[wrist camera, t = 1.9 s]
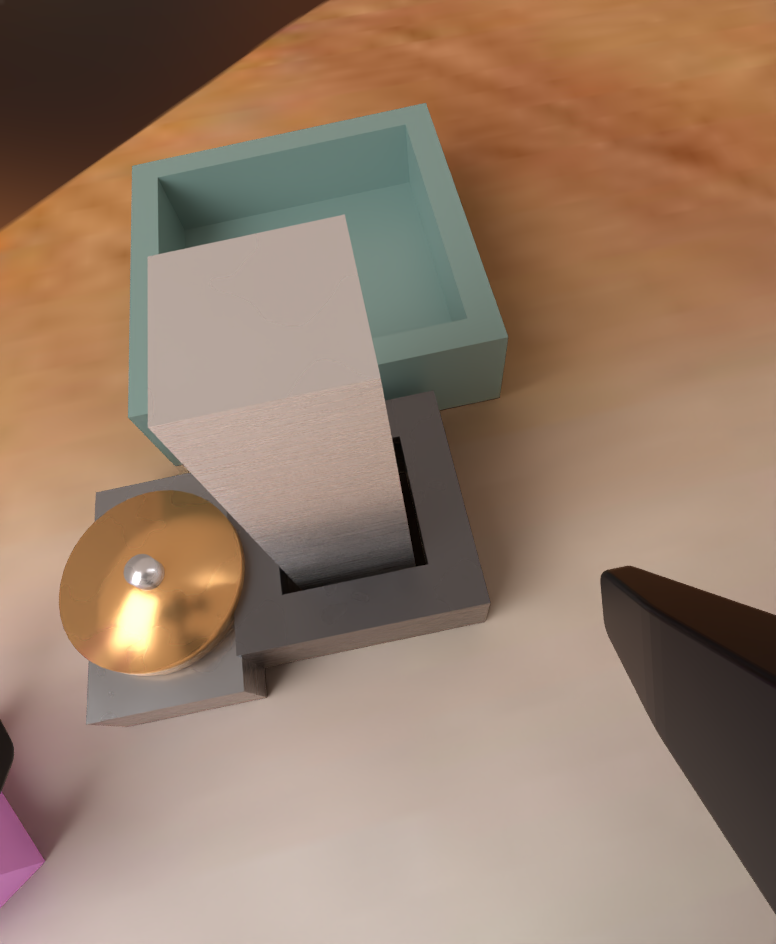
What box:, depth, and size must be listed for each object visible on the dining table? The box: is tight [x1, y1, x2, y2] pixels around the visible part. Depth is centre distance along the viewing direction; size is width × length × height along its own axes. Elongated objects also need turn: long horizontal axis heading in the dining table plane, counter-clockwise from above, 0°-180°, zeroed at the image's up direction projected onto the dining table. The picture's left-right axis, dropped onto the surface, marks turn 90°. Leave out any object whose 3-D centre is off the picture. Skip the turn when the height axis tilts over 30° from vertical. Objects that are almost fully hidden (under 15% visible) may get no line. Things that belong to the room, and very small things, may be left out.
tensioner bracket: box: [59, 390, 490, 727], centre depth 20 cm, size 9×14×4 cm, turn 101°
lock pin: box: [148, 214, 416, 591], centre depth 16 cm, size 4×4×13 cm
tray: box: [128, 103, 508, 466], centre depth 26 cm, size 14×14×4 cm
